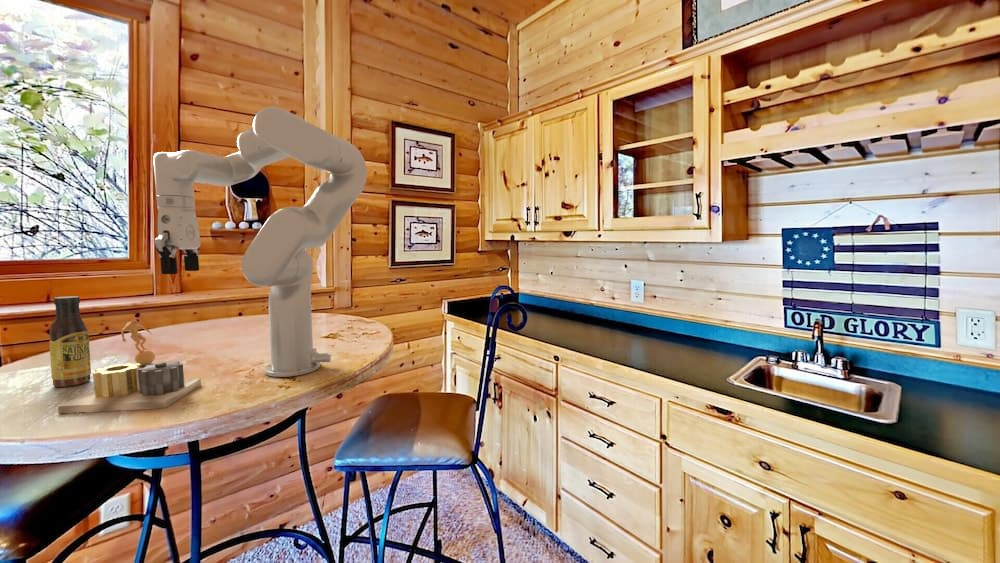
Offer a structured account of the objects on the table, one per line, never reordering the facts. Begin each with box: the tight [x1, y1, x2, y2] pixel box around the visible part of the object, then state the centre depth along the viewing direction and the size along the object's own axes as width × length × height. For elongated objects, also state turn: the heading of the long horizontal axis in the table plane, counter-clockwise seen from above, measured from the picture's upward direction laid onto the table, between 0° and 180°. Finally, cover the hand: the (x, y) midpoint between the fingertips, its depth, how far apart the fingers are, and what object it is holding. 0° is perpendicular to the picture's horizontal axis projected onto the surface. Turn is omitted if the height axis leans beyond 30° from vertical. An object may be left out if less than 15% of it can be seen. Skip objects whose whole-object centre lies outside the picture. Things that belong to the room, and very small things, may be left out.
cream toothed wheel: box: [92, 362, 142, 399], centre depth 86 cm, size 7×7×5 cm
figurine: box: [120, 319, 156, 366], centre depth 108 cm, size 8×6×12 cm
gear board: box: [57, 361, 202, 415], centre depth 86 cm, size 18×13×7 cm
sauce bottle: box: [48, 295, 92, 388], centre depth 94 cm, size 6×6×20 cm
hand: (181, 272), depth 106 cm, fingers open, 9 cm apart
